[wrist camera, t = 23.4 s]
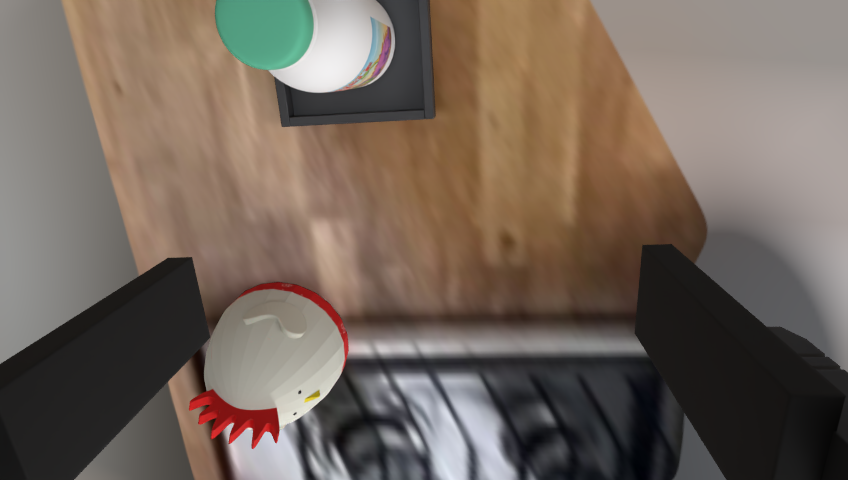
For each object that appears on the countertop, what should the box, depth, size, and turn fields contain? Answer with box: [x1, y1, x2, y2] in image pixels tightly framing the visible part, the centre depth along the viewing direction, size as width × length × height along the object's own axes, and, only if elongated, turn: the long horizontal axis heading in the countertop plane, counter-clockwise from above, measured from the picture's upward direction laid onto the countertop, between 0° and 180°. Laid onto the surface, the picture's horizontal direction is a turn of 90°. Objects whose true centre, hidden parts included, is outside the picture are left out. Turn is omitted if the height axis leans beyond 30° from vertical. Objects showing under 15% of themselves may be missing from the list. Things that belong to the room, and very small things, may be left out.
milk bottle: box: [215, 0, 395, 93], centre depth 33 cm, size 8×8×20 cm
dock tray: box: [274, 0, 436, 127], centre depth 42 cm, size 14×14×2 cm
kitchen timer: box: [189, 282, 348, 449], centre depth 47 cm, size 14×14×15 cm
